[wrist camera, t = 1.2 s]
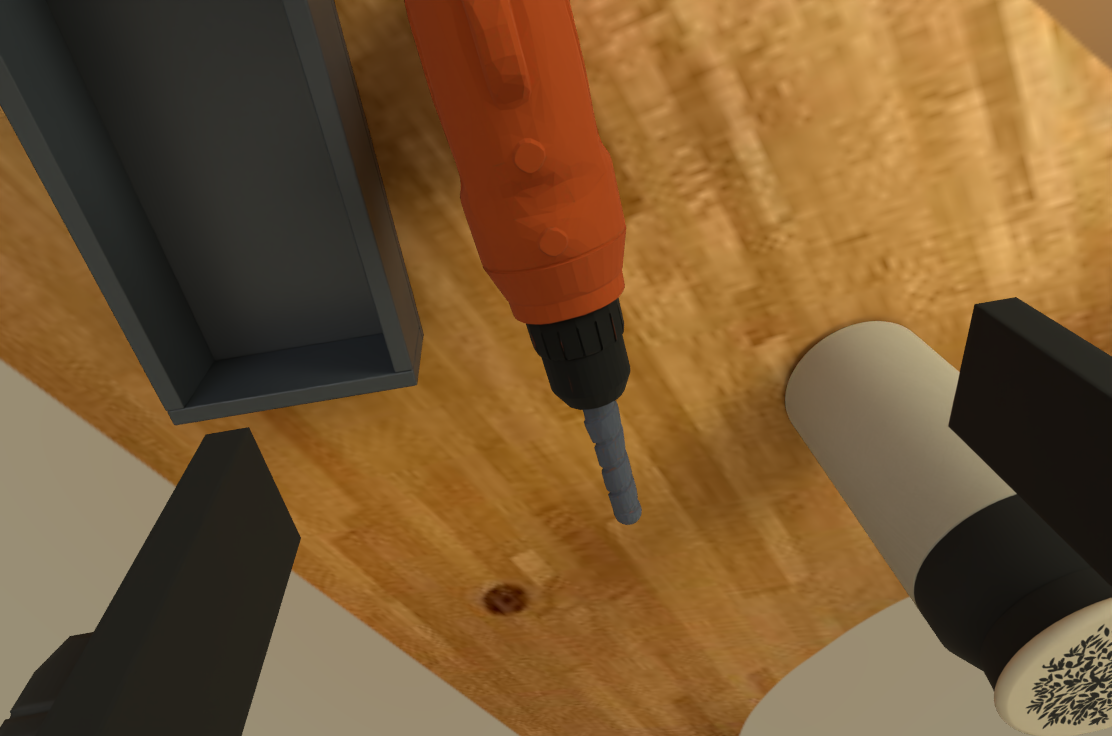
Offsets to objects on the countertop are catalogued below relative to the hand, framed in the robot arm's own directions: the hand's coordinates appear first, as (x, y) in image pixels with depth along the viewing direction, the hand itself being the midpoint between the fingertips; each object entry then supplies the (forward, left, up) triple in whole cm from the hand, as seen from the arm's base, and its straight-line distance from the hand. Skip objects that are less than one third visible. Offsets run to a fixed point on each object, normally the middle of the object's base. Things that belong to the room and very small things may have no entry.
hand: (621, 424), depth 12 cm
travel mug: (+15, +16, -20) cm, 29 cm away
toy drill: (0, 0, -20) cm, 20 cm away
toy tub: (-5, -12, -20) cm, 23 cm away
